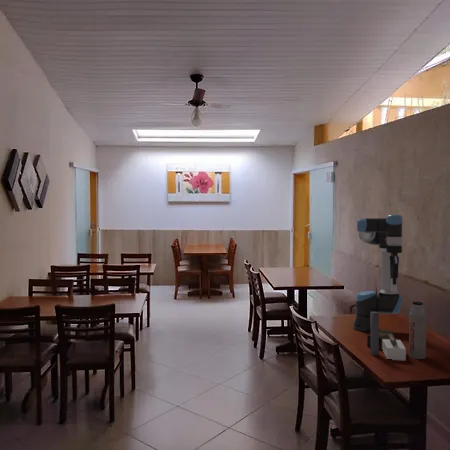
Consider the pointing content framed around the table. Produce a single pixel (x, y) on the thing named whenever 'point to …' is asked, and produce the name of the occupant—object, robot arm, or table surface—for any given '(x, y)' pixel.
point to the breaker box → (394, 350)
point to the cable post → (374, 334)
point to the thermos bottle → (417, 331)
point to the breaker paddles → (392, 339)
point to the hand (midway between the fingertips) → (393, 290)
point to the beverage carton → (380, 337)
